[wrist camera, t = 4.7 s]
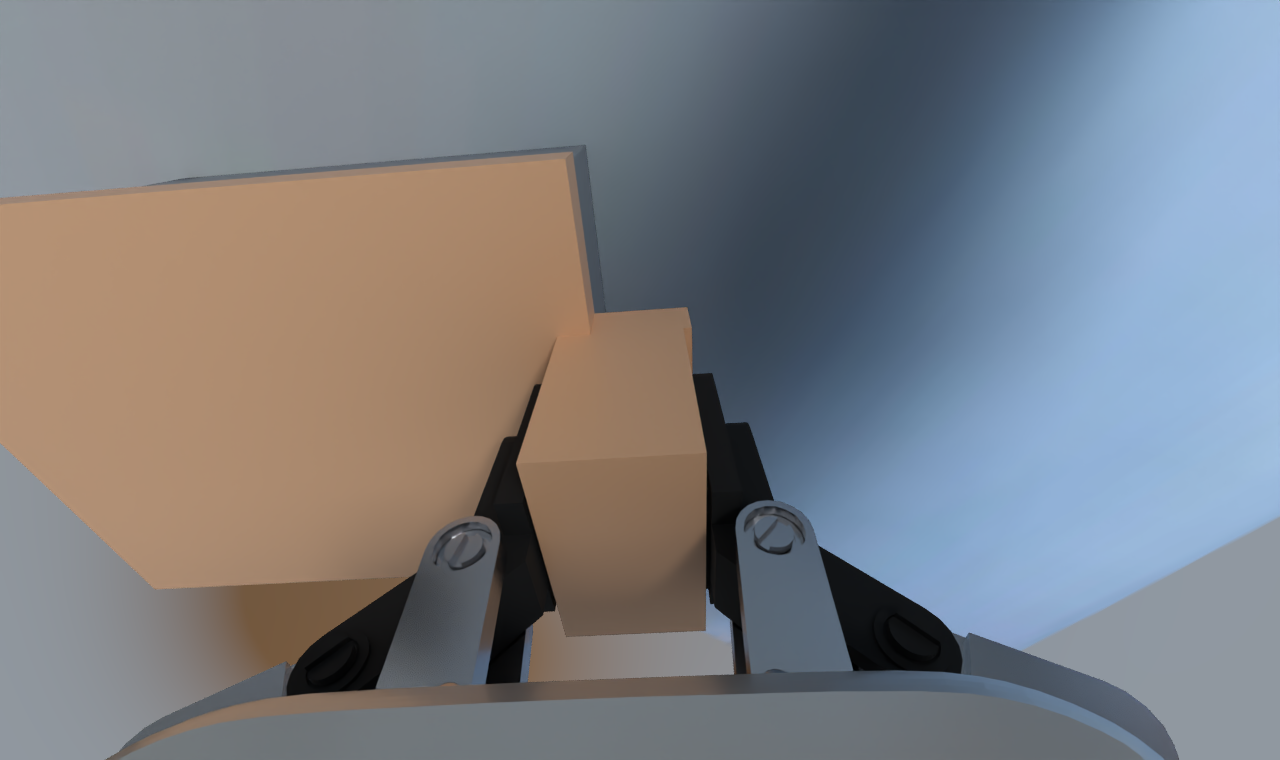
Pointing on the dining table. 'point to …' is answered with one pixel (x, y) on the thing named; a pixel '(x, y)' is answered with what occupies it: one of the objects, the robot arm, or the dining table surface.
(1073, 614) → the dining table surface
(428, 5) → the dining table surface
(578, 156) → the grey tray
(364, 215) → the lid
